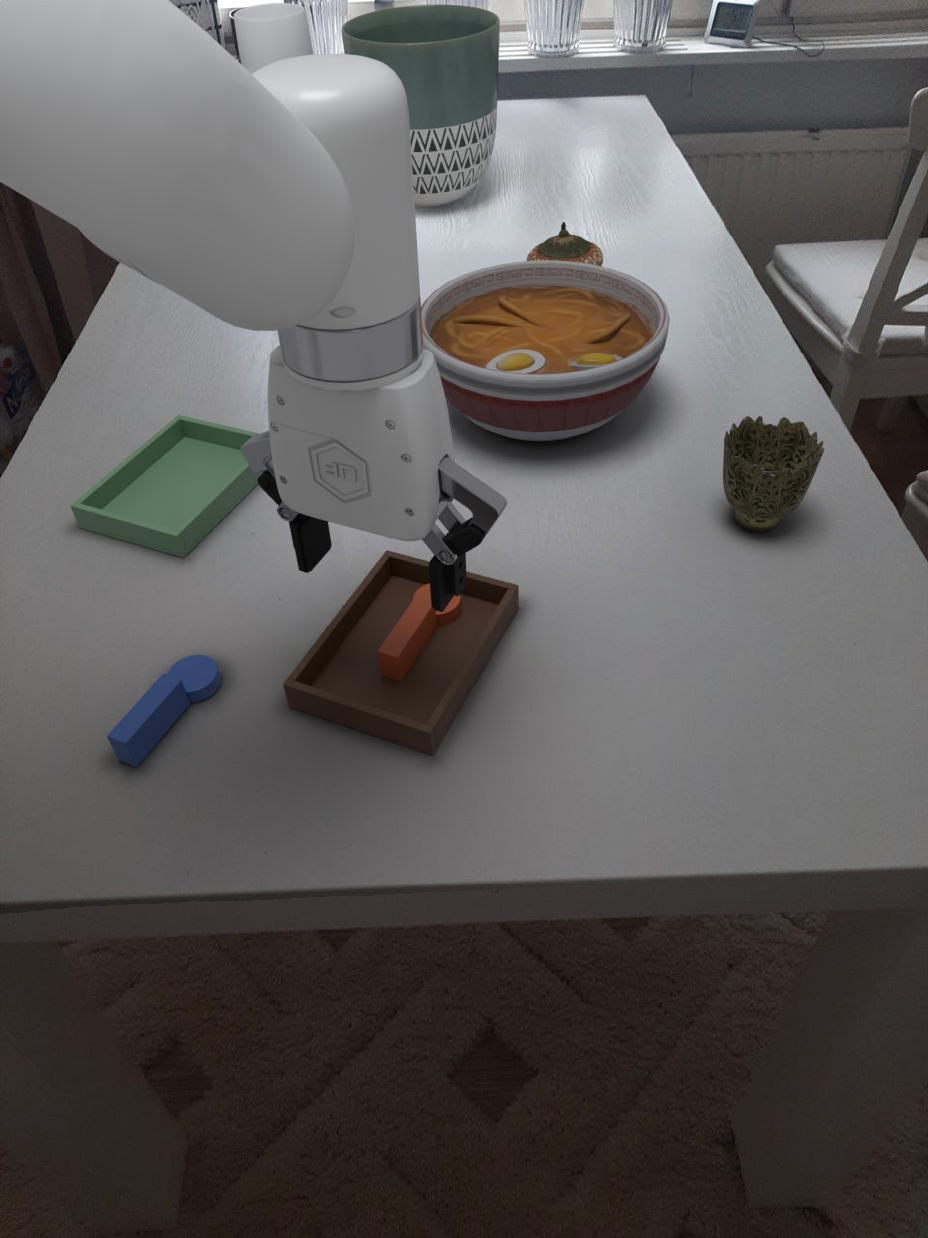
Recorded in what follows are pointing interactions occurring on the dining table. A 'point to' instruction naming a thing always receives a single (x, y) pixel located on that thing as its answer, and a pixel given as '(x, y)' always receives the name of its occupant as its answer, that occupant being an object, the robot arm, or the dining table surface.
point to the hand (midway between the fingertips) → (380, 578)
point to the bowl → (544, 345)
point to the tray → (437, 680)
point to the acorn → (567, 249)
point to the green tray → (171, 487)
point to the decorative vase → (768, 469)
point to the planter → (439, 88)
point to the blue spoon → (163, 707)
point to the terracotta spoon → (413, 633)
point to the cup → (271, 34)
